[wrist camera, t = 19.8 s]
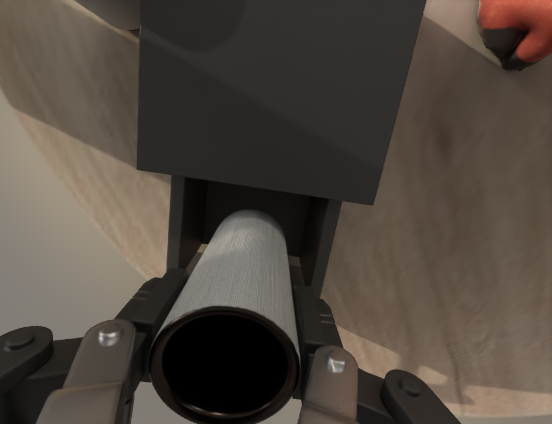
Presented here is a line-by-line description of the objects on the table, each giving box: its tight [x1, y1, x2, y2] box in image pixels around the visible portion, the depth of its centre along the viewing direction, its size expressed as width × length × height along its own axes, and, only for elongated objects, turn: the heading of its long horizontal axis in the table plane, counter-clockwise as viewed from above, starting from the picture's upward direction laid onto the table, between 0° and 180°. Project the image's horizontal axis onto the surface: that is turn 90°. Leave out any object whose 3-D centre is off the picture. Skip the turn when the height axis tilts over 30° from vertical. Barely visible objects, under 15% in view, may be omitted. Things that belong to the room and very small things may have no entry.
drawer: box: [166, 175, 342, 299], centre depth 21 cm, size 19×12×8 cm, turn 171°
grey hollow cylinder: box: [148, 209, 301, 424], centre depth 13 cm, size 4×4×10 cm
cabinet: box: [137, 0, 426, 205], centre depth 18 cm, size 15×13×10 cm
